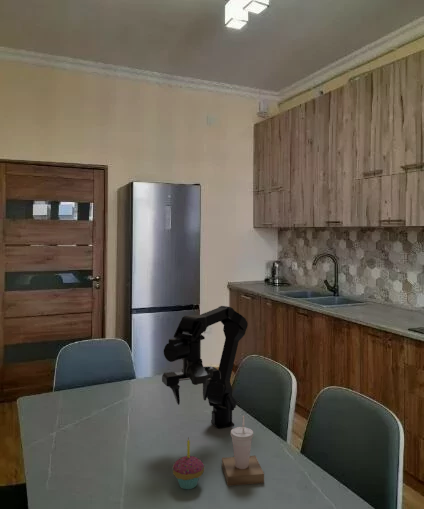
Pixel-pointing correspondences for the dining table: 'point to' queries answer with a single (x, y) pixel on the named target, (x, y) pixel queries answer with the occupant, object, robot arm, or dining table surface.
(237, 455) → the smoothie
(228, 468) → the plinth
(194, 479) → the cupcake
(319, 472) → the dining table surface
